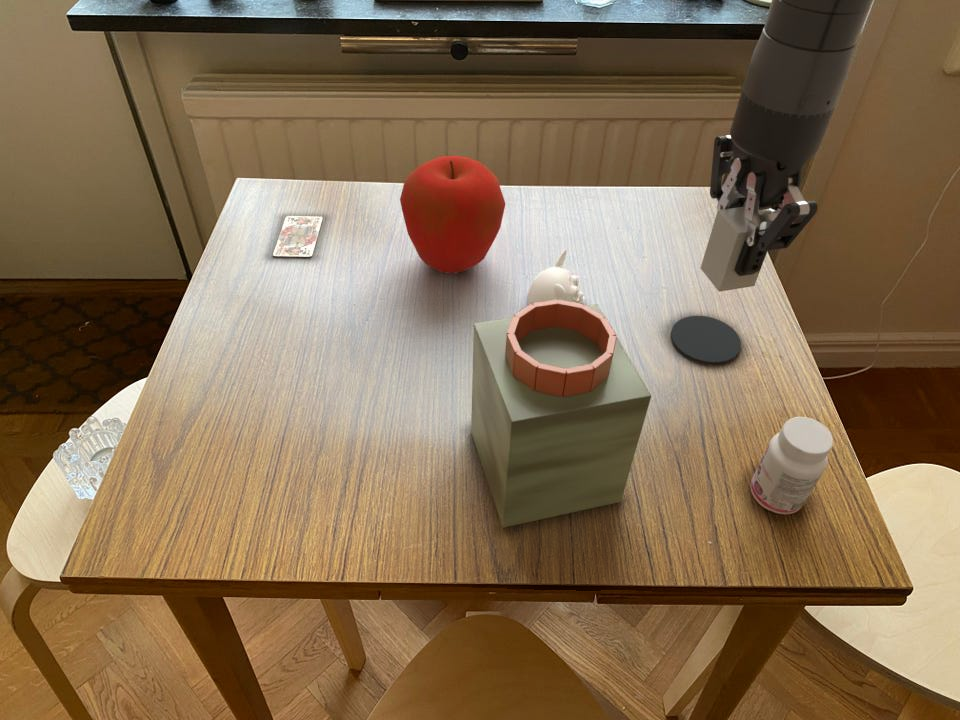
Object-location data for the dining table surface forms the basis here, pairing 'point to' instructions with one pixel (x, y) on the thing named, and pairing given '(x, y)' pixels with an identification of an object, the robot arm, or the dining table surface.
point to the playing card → (298, 236)
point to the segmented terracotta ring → (552, 376)
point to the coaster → (705, 340)
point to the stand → (553, 426)
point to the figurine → (555, 285)
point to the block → (727, 250)
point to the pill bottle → (792, 465)
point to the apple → (452, 212)
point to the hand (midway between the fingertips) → (733, 258)
